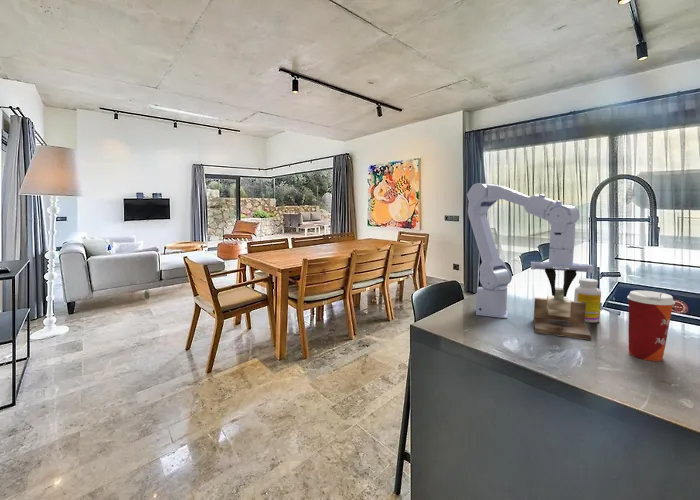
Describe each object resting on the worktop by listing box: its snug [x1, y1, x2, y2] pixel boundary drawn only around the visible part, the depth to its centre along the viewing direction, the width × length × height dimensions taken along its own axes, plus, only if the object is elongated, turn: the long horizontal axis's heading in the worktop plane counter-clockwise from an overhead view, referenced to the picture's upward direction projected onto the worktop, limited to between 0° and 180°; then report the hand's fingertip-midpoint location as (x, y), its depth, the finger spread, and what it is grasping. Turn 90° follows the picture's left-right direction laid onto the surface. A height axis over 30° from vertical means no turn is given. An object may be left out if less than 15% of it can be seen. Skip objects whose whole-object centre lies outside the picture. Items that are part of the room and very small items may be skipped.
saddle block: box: [546, 287, 571, 317], centre depth 92 cm, size 5×8×7 cm, turn 152°
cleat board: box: [533, 297, 592, 340], centre depth 94 cm, size 13×12×7 cm
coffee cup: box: [626, 290, 676, 362], centre depth 76 cm, size 8×8×15 cm
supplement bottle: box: [573, 277, 602, 324], centre depth 101 cm, size 7×7×13 cm
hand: (558, 295), depth 92 cm, fingers closed on saddle block
